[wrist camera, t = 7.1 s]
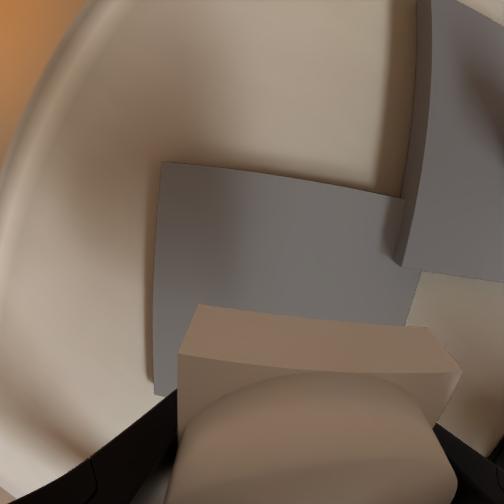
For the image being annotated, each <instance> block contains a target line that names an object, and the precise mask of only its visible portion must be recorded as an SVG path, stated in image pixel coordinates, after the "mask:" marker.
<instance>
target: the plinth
mask: <svg viewBox="0 0 504 504" xmlns="http://www.w3.org/2000/svg"><path fill="white" fill-rule="evenodd" d="M400 198H401V199H404V200H406V204H405V209H404V214H403V219H402V224H401V228H400V233H399V237H398V242H397V246H396V250H395V254H394V258H393V261H394V262H395V263H396V264H398V265H399V266H400V267H401V268H407V269H414V270H421V271H427V272H434V273H441V274H447V275H454V276H460V277H467V278H474V279H480V280H487V281H493V282H500V283H504V27H502V26H501V25H499V24H498V23H496V22H494V21H493V20H491V19H489V18H488V17H486V16H484V15H482V14H481V13H479V12H477V11H475V10H473V9H472V8H470V7H468V6H466V5H464V4H462V3H460V2H458V1H456V0H417V54H416V76H415V91H414V103H413V113H412V123H411V132H410V140H409V147H408V155H407V161H406V168H405V174H404V180H403V186H402V192H401V197H400Z"/></svg>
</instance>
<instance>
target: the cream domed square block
mask: <svg viewBox="0 0 504 504" xmlns="http://www.w3.org/2000/svg"><path fill="white" fill-rule="evenodd" d="M463 372H464V371H463V370H462V369H461V367H460V366H459V365H458V364H457V362H456V361H455V360H454V359H453V358H452V356H451V355H450V354H449V353H448V352H447V351H446V349H445V348H444V347H443V346H442V345H441V343H440V342H439V341H438V340H437V339H436V338H435V336H434V335H433V334H432V333H431V332H430V331H429V330H428V328H427V327H412V326H396V325H382V324H369V323H356V322H345V321H334V320H324V319H314V318H304V317H295V316H286V315H277V314H269V313H261V312H253V311H245V310H238V309H230V308H223V307H216V306H209V305H203V304H198V306H197V308H196V311H195V313H194V316H193V318H192V320H191V323H190V325H189V328H188V330H187V332H186V335H185V337H184V340H183V342H182V345H181V347H180V349H179V352H178V379H177V413H178V449H177V453H176V457H175V461H174V464H173V468H172V472H171V476H170V480H169V483H168V487H167V491H166V495H165V499H164V503H163V504H450V503H451V501H452V500H453V498H454V496H455V493H456V490H457V478H456V475H455V473H454V470H453V468H452V466H451V464H450V463H449V461H448V459H447V457H446V455H445V453H444V451H443V449H442V447H441V445H440V443H439V441H438V439H437V437H436V435H435V434H434V432H433V430H432V429H433V427H434V426H435V424H436V422H437V421H438V419H439V417H440V415H441V414H442V412H443V410H444V408H445V407H446V405H447V403H448V401H449V399H450V398H451V396H452V394H453V392H454V390H455V388H456V386H457V384H458V382H459V380H460V378H461V376H462V374H463Z"/></svg>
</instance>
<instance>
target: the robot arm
mask: <svg viewBox="0 0 504 504" xmlns="http://www.w3.org/2000/svg"><path fill="white" fill-rule="evenodd" d="M432 430H433V432H434V434H435V435H436V437H437V439H438V441H439V443H440V445H441V447H442V449H443V451H444V453H445V455H446V457H447V459H448V461H449V463H450V464H451V466H452V468H453V470H454V473H455V475H456V478H457V490H456V493H455V496H454V498H453V500H452V501H451V503H450V504H504V438H503V440H502V441H501V443H500V444H499V445H498V447H497V448H496V449H495V451H494V452H493V453H492V455H491V456H490V457H489V458H488V459H486V458H485V457H483V456H482V455H481V454H479V453H478V452H476V451H475V450H474V449H472V448H471V447H469V446H468V445H467V444H465V443H464V442H462V441H461V440H460V439H458V438H457V437H455V436H454V435H453V434H451V433H450V432H448V431H447V430H446V429H444V428H443V427H442V426H440V425H439V424H437V423H436V424H435V426H434V427H433V429H432ZM177 449H178V413H177V389H175V390H174V391H173V392H171V393H170V394H169V395H168V396H167V397H165V398H164V399H163V400H162V401H161V402H159V403H158V404H157V405H156V406H154V407H153V408H152V409H151V410H149V411H148V412H147V413H146V414H144V415H143V416H142V417H141V418H139V419H138V420H137V421H136V422H134V423H133V424H132V425H131V426H129V427H128V428H127V429H125V430H124V431H123V432H122V433H120V434H119V435H118V436H117V437H115V438H114V439H113V440H111V441H110V442H109V443H107V444H106V445H105V446H103V447H102V448H101V449H100V450H98V451H97V452H96V453H94V454H93V455H92V456H90V459H89V458H87V459H86V460H85V461H83V462H82V463H81V464H79V465H78V466H76V467H75V468H73V469H72V470H70V471H69V472H67V473H66V474H64V475H63V476H61V477H60V478H58V479H56V480H54V481H52V482H51V483H49V484H47V485H45V486H43V487H41V488H39V489H37V490H35V491H33V492H31V493H29V494H27V495H25V496H23V497H21V498H19V499H17V500H15V501H12V502H10V503H8V504H163V503H164V499H165V495H166V491H167V487H168V483H169V480H170V476H171V472H172V468H173V464H174V461H175V457H176V453H177Z"/></svg>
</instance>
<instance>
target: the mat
mask: <svg viewBox="0 0 504 504" xmlns="http://www.w3.org/2000/svg"><path fill="white" fill-rule="evenodd" d="M405 204H406V200H404V199H401V198H397V197H392V196H388V195H383V194H378V193H374V192H369V191H364V190H359V189H354V188H349V187H344V186H338V185H333V184H328V183H322V182H316V181H310V180H305V179H299V178H292V177H286V176H280V175H273V174H266V173H259V172H252V171H245V170H237V169H229V168H221V167H213V166H204V165H194V164H184V163H174V162H162V167H161V176H160V186H159V197H158V209H157V222H156V237H155V255H154V280H153V376H154V395H159V396H164V397H167V396H168V395H169V394H170V393H171V392H173V391H174V390H175V389H177V379H178V352H179V349H180V347H181V345H182V342H183V340H184V337H185V335H186V332H187V330H188V328H189V325H190V323H191V320H192V318H193V316H194V313H195V311H196V308H197V306H198V304H203V305H209V306H216V307H223V308H230V309H238V310H245V311H253V312H261V313H269V314H277V315H286V316H295V317H304V318H314V319H324V320H334V321H345V322H356V323H369V324H382V325H396V326H404V325H405V322H406V319H407V316H408V313H409V310H410V307H411V304H412V301H413V297H414V294H415V291H416V288H417V284H418V281H419V277H420V274H421V270H414V269H407V268H401V267H400V266H399V265H398V264H396V263H395V262H394V261H393V258H394V254H395V250H396V246H397V242H398V237H399V233H400V228H401V224H402V219H403V214H404V209H405Z"/></svg>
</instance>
